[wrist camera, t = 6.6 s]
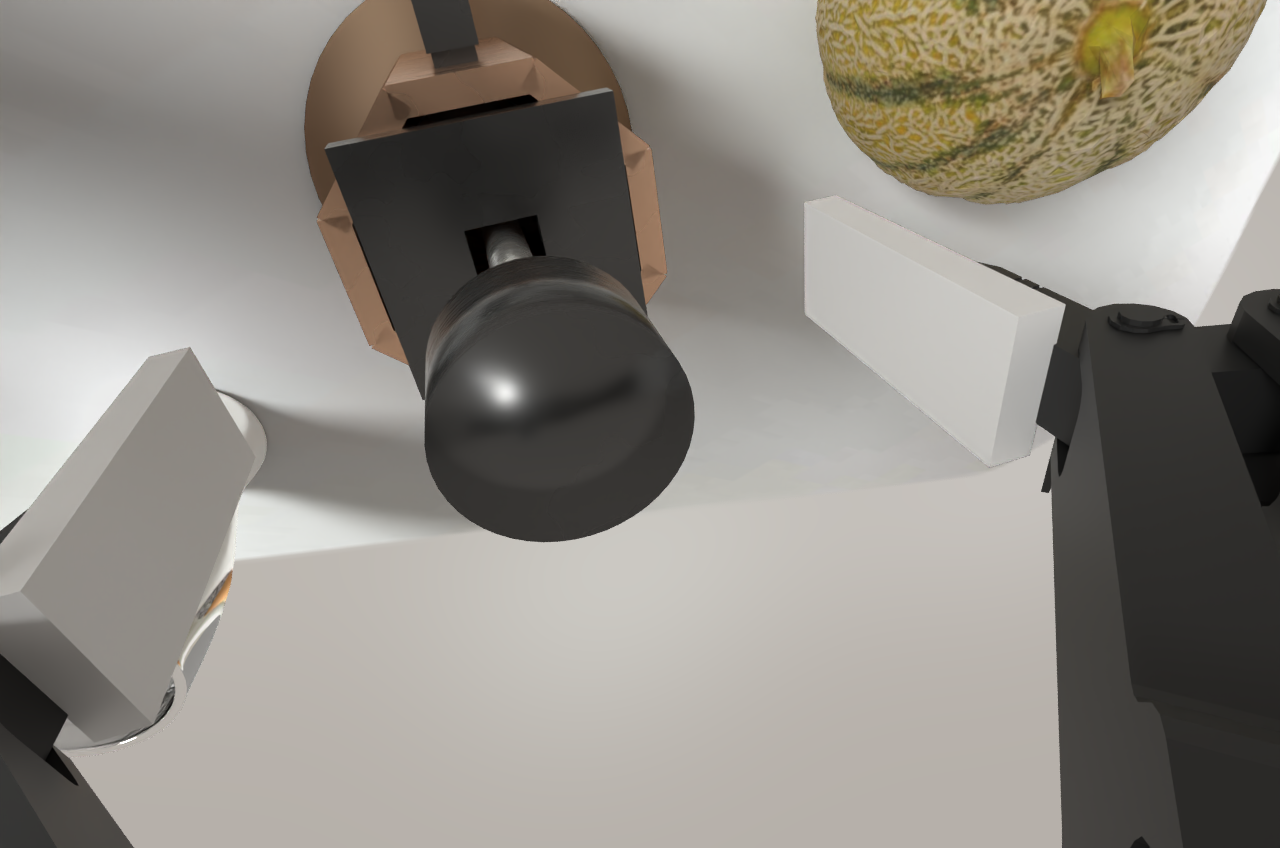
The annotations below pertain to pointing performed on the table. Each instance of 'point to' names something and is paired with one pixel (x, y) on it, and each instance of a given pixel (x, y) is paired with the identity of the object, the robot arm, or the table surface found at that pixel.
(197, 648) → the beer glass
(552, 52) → the coaster
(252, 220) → the table surface
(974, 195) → the cantaloupe
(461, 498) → the plunger
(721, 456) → the table surface
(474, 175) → the carafe
